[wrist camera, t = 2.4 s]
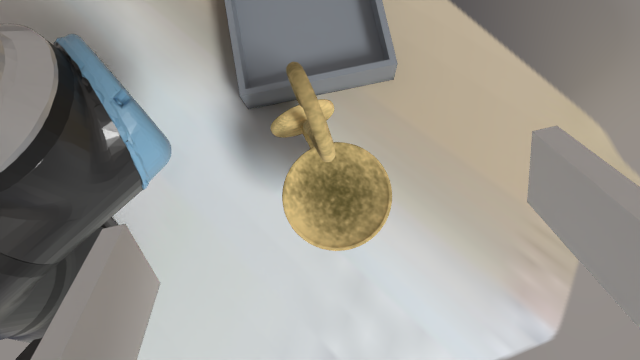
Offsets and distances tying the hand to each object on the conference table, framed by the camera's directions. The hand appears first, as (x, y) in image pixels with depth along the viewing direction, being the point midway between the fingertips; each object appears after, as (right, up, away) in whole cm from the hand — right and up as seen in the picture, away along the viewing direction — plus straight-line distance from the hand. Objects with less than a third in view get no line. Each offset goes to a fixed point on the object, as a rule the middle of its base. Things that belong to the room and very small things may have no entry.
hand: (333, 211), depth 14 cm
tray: (-2, +20, +38) cm, 42 cm away
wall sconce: (+1, 0, +34) cm, 34 cm away
